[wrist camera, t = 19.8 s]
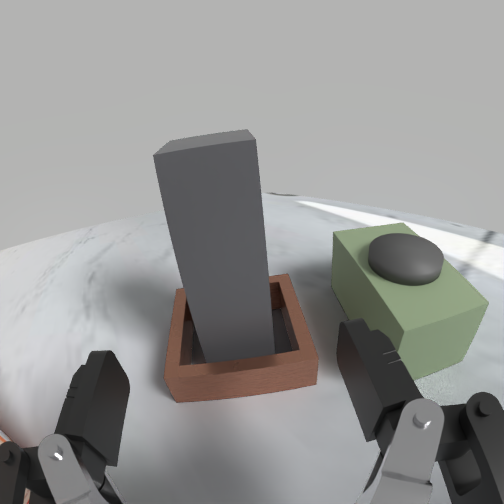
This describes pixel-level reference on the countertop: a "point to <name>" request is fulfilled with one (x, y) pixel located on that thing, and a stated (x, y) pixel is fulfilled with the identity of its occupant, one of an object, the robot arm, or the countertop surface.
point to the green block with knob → (406, 294)
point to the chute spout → (219, 240)
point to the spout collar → (243, 370)
